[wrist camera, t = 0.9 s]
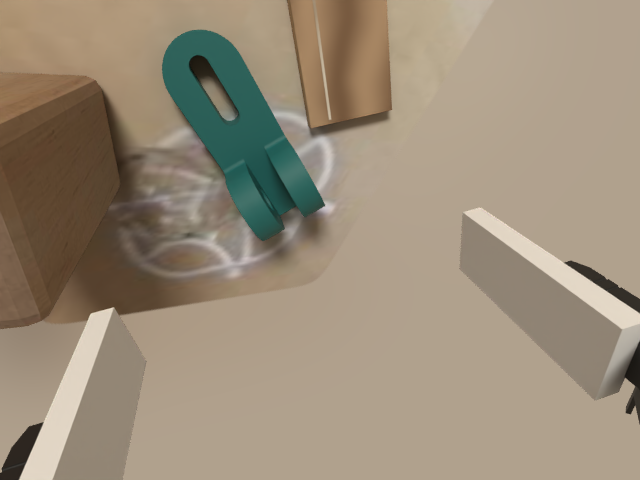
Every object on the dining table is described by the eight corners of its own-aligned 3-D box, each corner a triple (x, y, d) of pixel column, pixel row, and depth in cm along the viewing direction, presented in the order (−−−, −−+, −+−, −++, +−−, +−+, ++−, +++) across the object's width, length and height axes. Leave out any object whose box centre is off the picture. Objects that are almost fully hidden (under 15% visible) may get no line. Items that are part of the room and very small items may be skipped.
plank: (308, 125, 37) (311, 128, 36) (261, -153, 27) (263, -161, 26) (386, 107, 38) (392, 109, 37) (371, -165, 28) (378, -173, 27)
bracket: (311, 186, 41) (332, 216, 34) (258, 216, 41) (268, 253, 34) (216, 13, 31) (219, 9, 24) (147, 55, 31) (131, 62, 24)
